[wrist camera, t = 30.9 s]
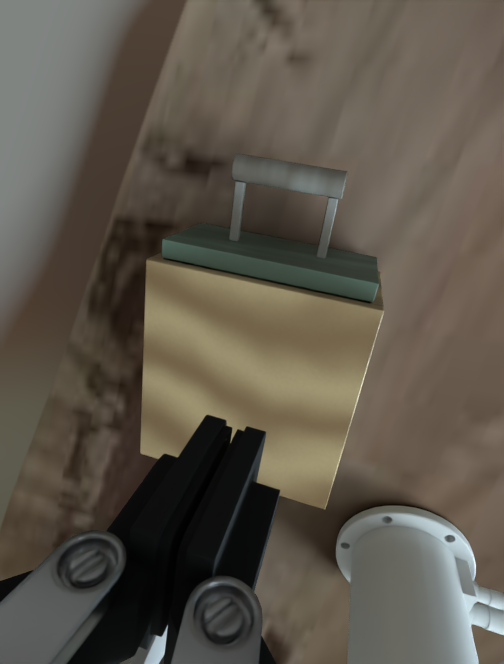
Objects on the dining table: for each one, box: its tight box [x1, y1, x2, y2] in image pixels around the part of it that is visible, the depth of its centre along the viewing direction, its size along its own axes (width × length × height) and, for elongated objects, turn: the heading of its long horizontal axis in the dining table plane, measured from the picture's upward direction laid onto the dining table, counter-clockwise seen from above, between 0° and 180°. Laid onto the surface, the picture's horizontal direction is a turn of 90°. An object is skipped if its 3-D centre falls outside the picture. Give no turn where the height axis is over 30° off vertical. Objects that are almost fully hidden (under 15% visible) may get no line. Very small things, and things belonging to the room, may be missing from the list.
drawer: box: [161, 154, 379, 302], centre depth 30 cm, size 20×13×7 cm
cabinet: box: [140, 252, 384, 509], centre depth 32 cm, size 16×15×9 cm
